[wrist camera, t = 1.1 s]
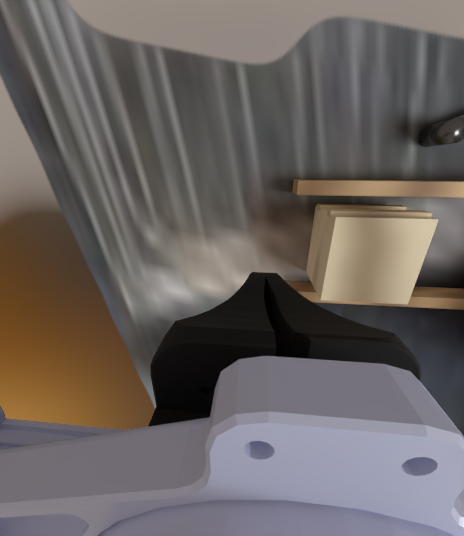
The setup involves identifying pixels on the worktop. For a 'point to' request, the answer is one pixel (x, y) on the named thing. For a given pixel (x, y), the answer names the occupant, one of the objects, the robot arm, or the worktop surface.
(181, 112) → the worktop surface
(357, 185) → the bay
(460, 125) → the crank handle
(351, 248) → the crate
